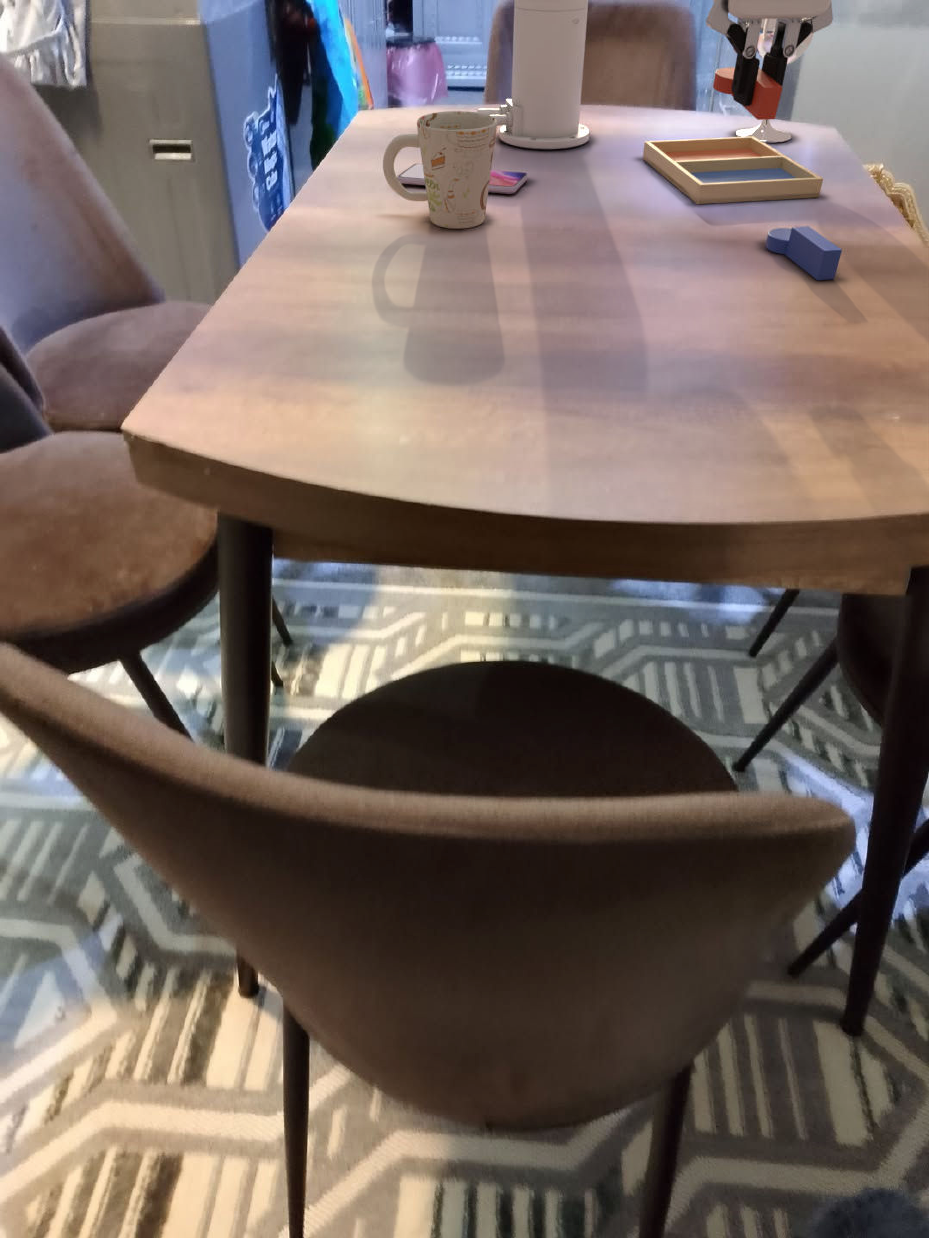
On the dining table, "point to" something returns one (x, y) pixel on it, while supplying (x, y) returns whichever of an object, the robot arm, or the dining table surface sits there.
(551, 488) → the dining table surface
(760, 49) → the wineglass
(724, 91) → the rust-red brick
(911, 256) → the dining table surface
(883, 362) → the dining table surface
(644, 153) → the tray
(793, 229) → the blue foam brick
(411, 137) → the mug
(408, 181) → the smartphone
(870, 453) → the dining table surface
